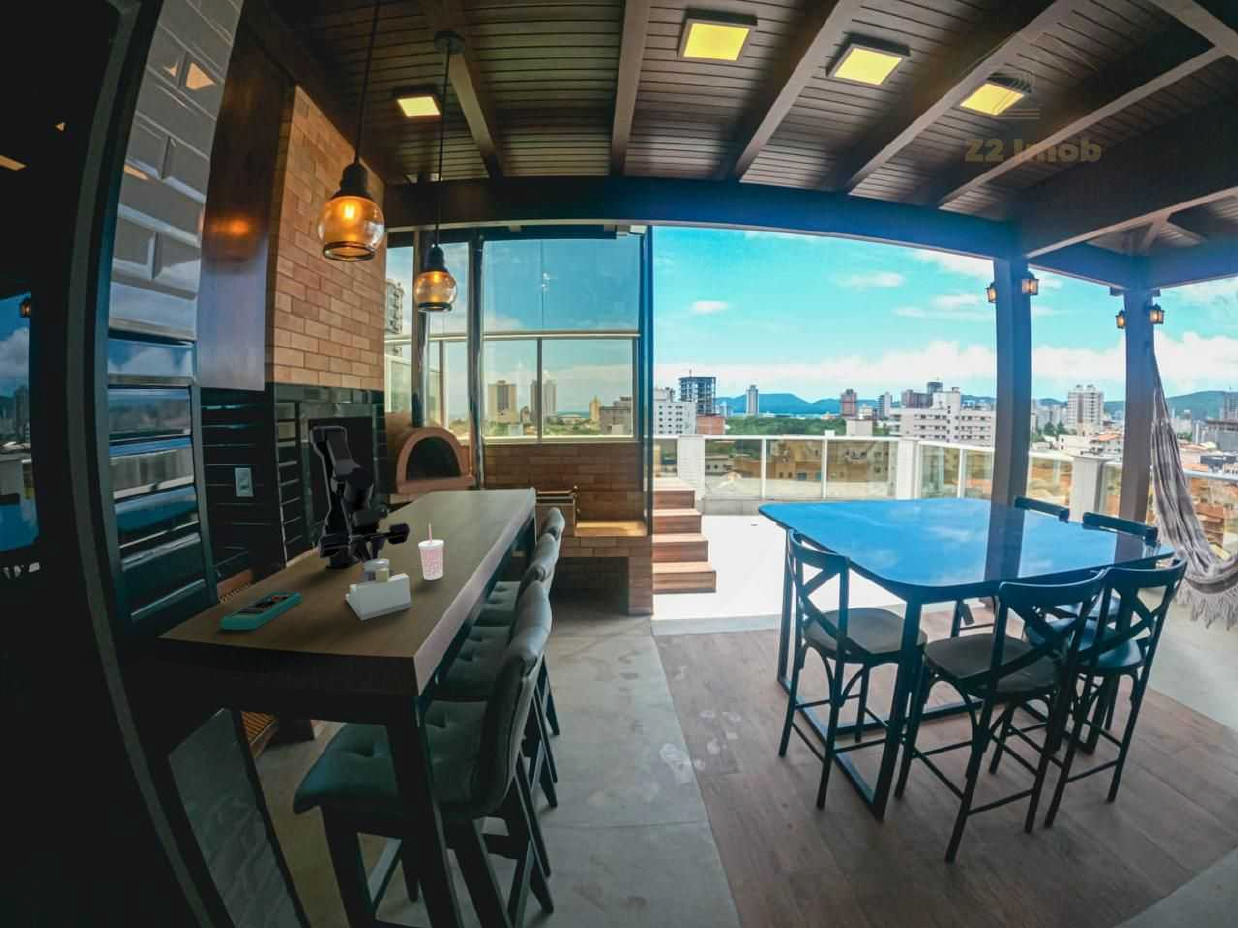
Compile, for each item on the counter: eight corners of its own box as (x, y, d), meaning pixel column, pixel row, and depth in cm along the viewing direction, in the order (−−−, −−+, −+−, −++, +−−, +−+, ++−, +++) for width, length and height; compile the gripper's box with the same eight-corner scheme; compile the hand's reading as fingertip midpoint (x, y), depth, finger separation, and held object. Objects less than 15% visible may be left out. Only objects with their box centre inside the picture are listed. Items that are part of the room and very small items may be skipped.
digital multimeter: (304, 602, 114) (303, 589, 113) (254, 632, 99) (252, 618, 99) (274, 601, 114) (273, 589, 114) (219, 631, 99) (217, 618, 99)
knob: (364, 598, 110) (361, 561, 109) (388, 592, 113) (385, 556, 112) (370, 605, 106) (367, 567, 105) (394, 599, 110) (391, 562, 108)
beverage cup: (434, 570, 132) (431, 519, 130) (450, 574, 129) (447, 522, 127) (415, 578, 127) (411, 525, 125) (431, 582, 124) (427, 528, 122)
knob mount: (346, 599, 114) (342, 560, 112) (392, 588, 120) (389, 551, 119) (361, 620, 103) (357, 577, 101) (411, 607, 109) (408, 566, 108)
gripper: (315, 500, 107) (330, 562, 100) (404, 489, 119) (423, 543, 112) (312, 528, 114) (326, 587, 107) (397, 515, 126) (414, 568, 119)
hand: (374, 570), depth 111 cm, fingers closed, pressing on knob
